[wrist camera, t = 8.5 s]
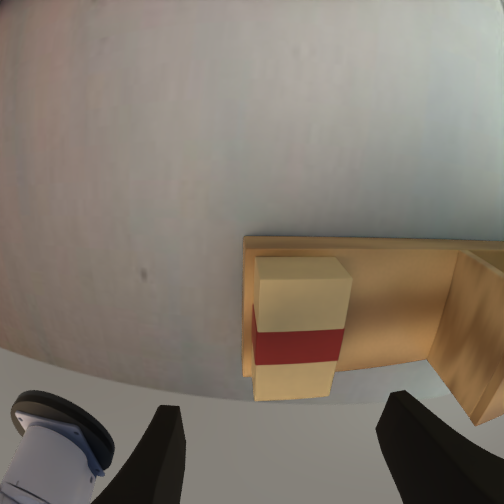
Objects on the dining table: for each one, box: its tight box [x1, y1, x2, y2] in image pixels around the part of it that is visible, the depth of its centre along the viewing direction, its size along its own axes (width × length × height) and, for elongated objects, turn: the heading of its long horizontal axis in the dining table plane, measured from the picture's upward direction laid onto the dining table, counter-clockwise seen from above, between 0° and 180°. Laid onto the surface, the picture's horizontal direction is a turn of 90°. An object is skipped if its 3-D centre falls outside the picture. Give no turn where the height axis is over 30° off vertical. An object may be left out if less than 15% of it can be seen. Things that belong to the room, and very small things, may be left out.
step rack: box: [241, 236, 504, 426], centre depth 15 cm, size 8×24×9 cm, turn 88°
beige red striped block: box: [251, 257, 353, 401], centre depth 16 cm, size 7×4×3 cm, turn 179°
